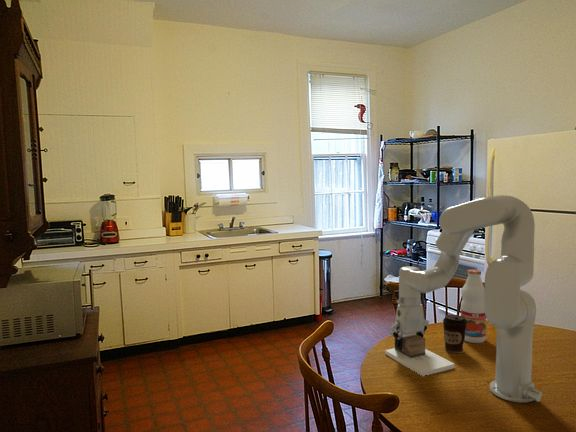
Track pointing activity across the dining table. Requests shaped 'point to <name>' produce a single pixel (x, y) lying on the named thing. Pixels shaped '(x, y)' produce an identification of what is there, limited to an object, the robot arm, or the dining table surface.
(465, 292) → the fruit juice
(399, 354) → the board
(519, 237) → the robot arm
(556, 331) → the dining table surface
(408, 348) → the block
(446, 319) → the coffee cup
